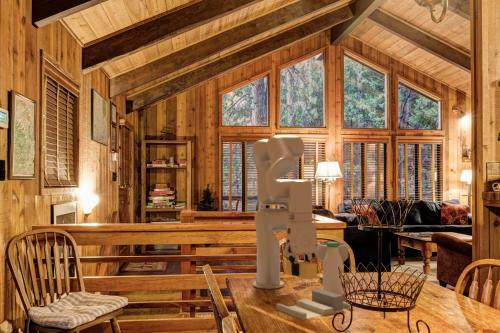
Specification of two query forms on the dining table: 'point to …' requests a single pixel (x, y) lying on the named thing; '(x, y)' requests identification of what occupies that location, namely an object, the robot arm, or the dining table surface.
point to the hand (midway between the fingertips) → (301, 274)
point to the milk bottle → (332, 269)
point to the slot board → (309, 309)
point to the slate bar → (328, 299)
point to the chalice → (323, 251)
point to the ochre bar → (303, 269)
